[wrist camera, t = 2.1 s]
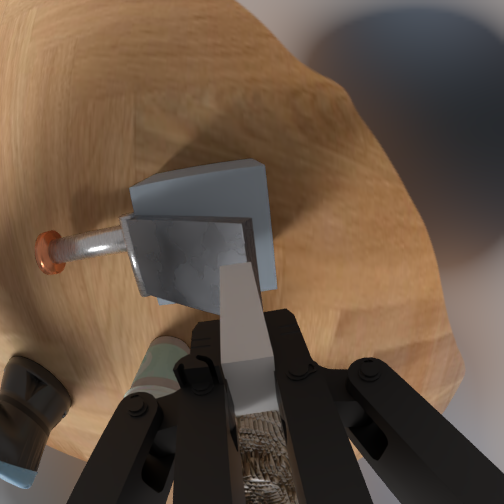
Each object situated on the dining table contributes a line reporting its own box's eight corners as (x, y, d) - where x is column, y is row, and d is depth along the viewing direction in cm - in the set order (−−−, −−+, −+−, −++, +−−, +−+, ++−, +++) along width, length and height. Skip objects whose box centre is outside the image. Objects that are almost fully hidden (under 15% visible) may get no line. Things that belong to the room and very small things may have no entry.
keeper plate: (148, 287, 22) (137, 294, 21) (127, 212, 20) (115, 217, 19) (263, 317, 17) (254, 328, 16) (251, 213, 14) (239, 220, 13)
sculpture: (308, 425, 47) (341, 534, 23) (249, 449, 48) (264, 552, 25) (253, 376, 39) (281, 536, 16) (184, 407, 41) (179, 545, 18)
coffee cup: (149, 317, 34) (128, 388, 22) (210, 342, 36) (210, 414, 25) (133, 359, 36) (115, 425, 25) (188, 379, 38) (183, 447, 27)
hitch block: (173, 262, 31) (159, 305, 23) (155, 173, 27) (129, 187, 19) (262, 249, 32) (277, 288, 23) (251, 158, 28) (265, 165, 19)
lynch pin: (63, 264, 27) (44, 282, 23) (51, 226, 26) (29, 240, 21) (184, 243, 28) (177, 262, 24) (175, 199, 26) (166, 211, 22)
